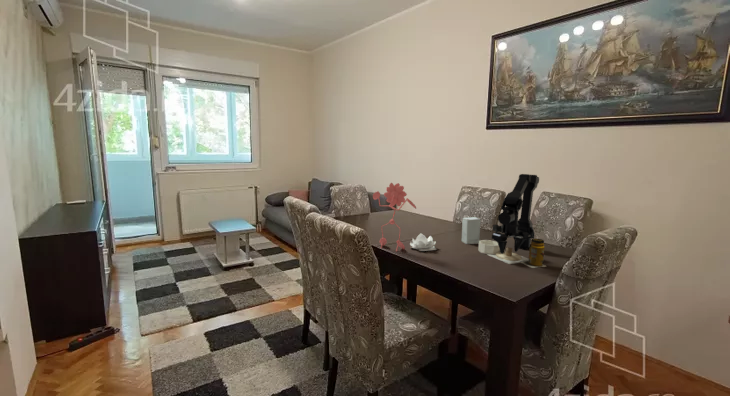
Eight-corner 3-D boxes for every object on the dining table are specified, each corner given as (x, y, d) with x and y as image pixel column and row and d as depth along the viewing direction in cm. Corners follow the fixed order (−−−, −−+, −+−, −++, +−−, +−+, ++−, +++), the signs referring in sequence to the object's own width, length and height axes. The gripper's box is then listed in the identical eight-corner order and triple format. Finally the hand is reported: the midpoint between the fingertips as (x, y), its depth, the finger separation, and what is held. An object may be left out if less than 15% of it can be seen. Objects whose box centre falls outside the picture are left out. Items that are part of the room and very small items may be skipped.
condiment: (547, 266, 153) (549, 241, 151) (532, 268, 150) (534, 242, 149) (535, 261, 160) (537, 237, 158) (520, 262, 157) (522, 238, 156)
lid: (507, 252, 172) (508, 243, 171) (526, 258, 161) (527, 250, 161) (490, 254, 167) (491, 246, 166) (509, 261, 156) (510, 252, 156)
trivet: (507, 252, 173) (507, 251, 173) (530, 260, 161) (530, 259, 161) (487, 255, 167) (487, 254, 167) (509, 264, 155) (509, 263, 155)
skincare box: (474, 242, 192) (475, 216, 190) (479, 244, 186) (481, 218, 184) (460, 242, 190) (462, 217, 188) (466, 245, 184) (467, 219, 182)
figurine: (410, 256, 164) (413, 185, 159) (366, 247, 178) (367, 182, 173) (422, 249, 177) (425, 183, 172) (380, 241, 191) (382, 180, 186)
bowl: (488, 248, 180) (489, 239, 179) (503, 253, 171) (504, 244, 170) (474, 250, 176) (474, 241, 175) (488, 256, 166) (489, 246, 166)
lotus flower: (437, 247, 181) (437, 231, 180) (436, 255, 167) (436, 238, 166) (410, 245, 185) (411, 229, 183) (407, 252, 170) (408, 236, 169)
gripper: (511, 217, 173) (509, 246, 175) (484, 219, 165) (482, 250, 167) (530, 221, 163) (527, 252, 165) (502, 224, 155) (499, 256, 157)
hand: (508, 252), depth 164 cm, fingers open, 9 cm apart
